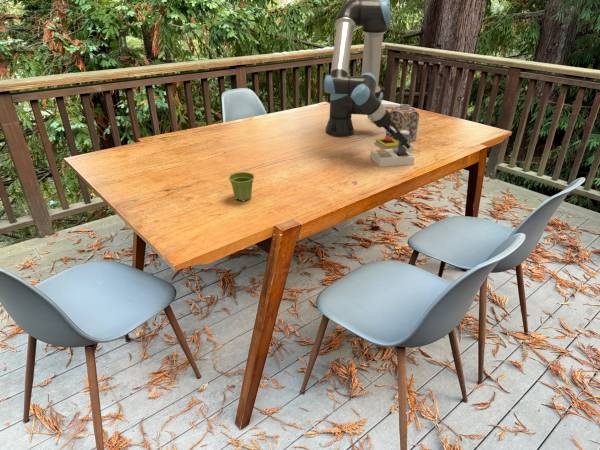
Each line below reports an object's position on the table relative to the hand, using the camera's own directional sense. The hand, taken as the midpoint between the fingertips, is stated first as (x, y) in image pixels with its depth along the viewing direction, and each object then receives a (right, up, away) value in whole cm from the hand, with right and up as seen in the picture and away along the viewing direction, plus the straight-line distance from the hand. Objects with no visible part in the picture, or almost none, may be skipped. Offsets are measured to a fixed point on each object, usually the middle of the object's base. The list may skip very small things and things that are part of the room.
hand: (409, 149), depth 188 cm
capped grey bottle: (-4, -3, +1) cm, 5 cm away
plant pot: (-71, -24, -31) cm, 81 cm away
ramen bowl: (+3, +27, +56) cm, 62 cm away
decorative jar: (+2, +10, +28) cm, 30 cm away
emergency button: (-6, +4, +18) cm, 20 cm away
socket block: (-8, -5, +2) cm, 9 cm away
